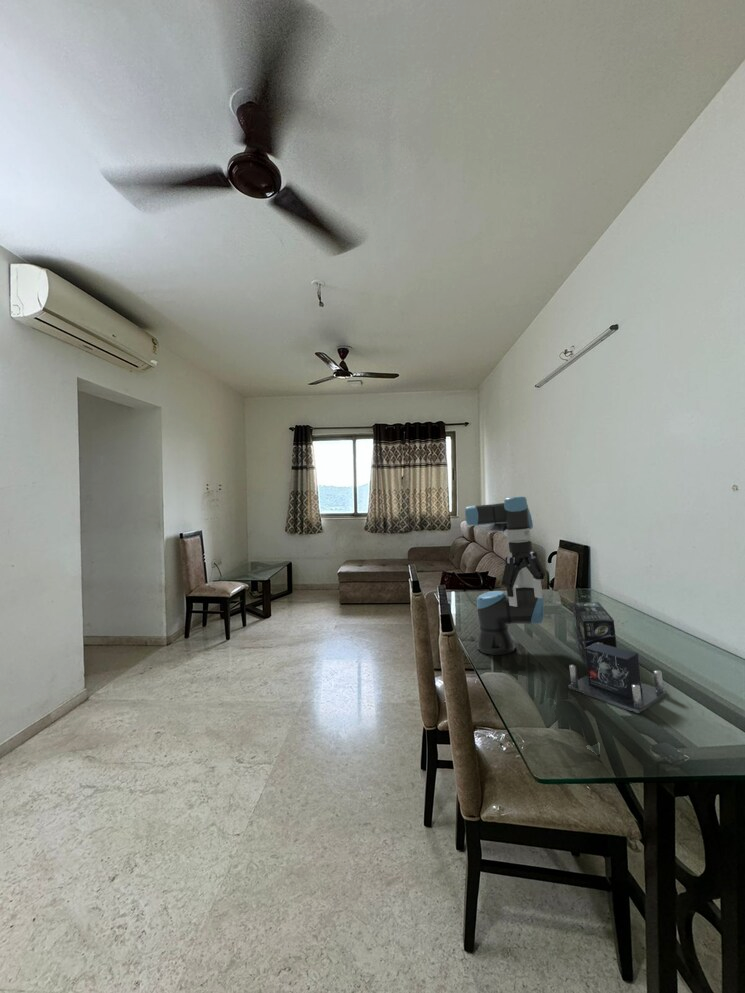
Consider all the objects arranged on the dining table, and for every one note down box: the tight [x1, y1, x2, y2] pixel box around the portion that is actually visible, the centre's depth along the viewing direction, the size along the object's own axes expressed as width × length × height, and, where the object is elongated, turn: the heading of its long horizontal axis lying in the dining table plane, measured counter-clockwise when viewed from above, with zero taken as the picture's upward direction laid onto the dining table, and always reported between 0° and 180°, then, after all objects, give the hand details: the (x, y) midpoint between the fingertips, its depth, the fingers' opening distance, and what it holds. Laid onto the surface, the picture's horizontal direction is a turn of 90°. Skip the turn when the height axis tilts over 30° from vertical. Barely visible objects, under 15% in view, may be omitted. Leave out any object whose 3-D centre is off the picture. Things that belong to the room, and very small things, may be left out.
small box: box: [585, 642, 642, 699], centre depth 124 cm, size 13×7×12 cm, turn 31°
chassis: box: [568, 664, 668, 714], centre depth 124 cm, size 21×17×7 cm
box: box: [571, 601, 618, 672], centre depth 148 cm, size 23×10×19 cm, turn 162°
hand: (526, 601), depth 138 cm, fingers open, 13 cm apart
